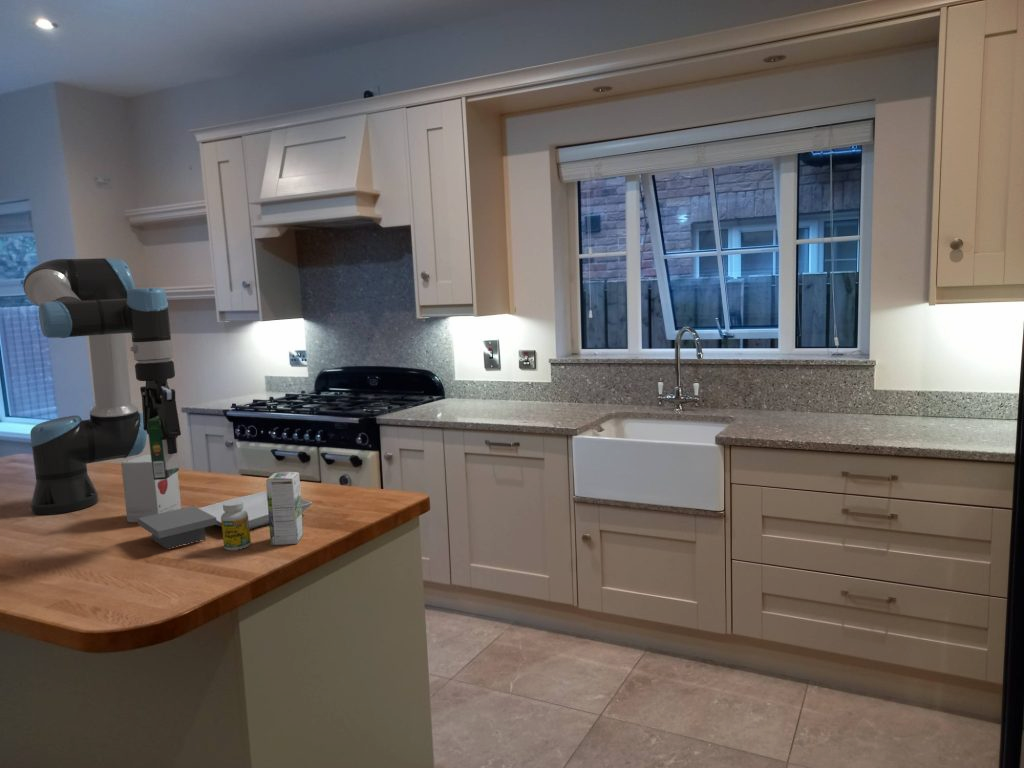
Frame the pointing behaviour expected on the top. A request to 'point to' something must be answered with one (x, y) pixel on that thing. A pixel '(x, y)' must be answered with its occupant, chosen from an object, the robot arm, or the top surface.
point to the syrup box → (284, 508)
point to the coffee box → (158, 450)
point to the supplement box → (148, 490)
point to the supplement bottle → (235, 526)
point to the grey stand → (178, 526)
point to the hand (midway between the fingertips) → (165, 465)
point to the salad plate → (249, 509)
